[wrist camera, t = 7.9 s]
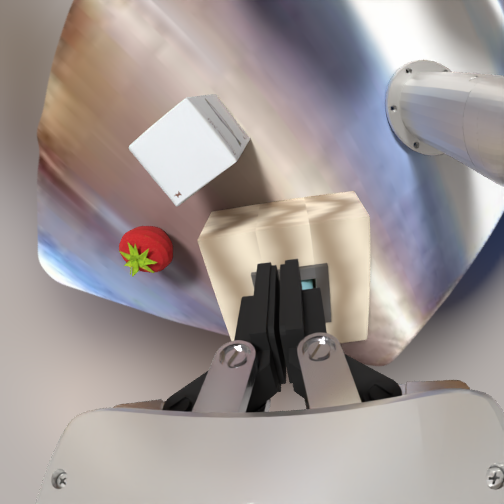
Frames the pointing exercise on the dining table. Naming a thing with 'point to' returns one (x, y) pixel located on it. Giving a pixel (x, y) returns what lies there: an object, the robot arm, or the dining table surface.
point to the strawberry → (146, 249)
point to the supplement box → (190, 146)
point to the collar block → (295, 255)
